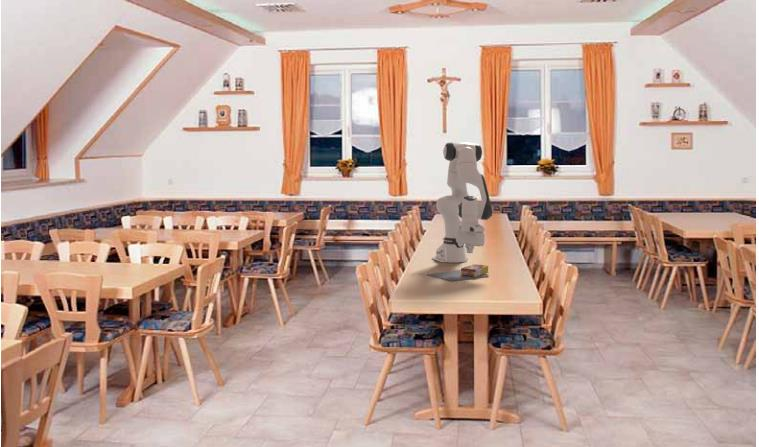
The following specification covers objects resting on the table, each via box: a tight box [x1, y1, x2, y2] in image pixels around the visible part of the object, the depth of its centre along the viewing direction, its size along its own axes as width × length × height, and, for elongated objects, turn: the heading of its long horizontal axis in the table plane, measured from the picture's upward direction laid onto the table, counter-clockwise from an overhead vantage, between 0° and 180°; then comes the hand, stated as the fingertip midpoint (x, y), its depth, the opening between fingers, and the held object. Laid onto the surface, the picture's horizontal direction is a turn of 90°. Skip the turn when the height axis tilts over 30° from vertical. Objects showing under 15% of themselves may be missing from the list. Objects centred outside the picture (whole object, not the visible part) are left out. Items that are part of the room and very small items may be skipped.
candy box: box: [460, 263, 489, 277], centre depth 410 cm, size 9×4×15 cm
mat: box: [426, 269, 489, 283], centre depth 409 cm, size 22×24×1 cm
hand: (469, 252), depth 412 cm, fingers closed
